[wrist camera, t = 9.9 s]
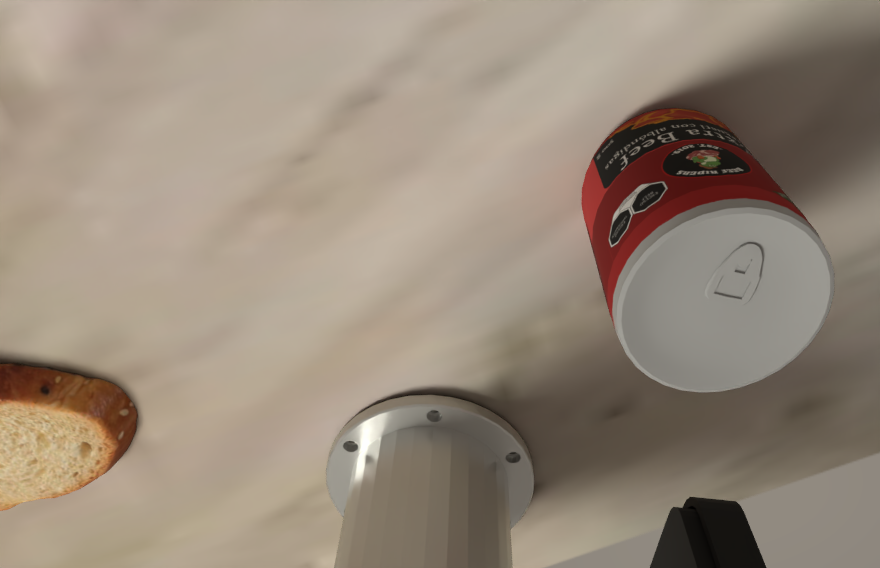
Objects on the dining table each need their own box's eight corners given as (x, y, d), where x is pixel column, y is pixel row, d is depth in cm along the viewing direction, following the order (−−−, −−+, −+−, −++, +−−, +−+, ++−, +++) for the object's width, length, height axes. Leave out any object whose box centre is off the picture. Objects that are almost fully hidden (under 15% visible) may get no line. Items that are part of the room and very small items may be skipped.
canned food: (754, 98, 34) (861, 202, 25) (729, 254, 38) (812, 393, 29) (582, 104, 35) (623, 209, 25) (575, 258, 39) (608, 397, 29)
